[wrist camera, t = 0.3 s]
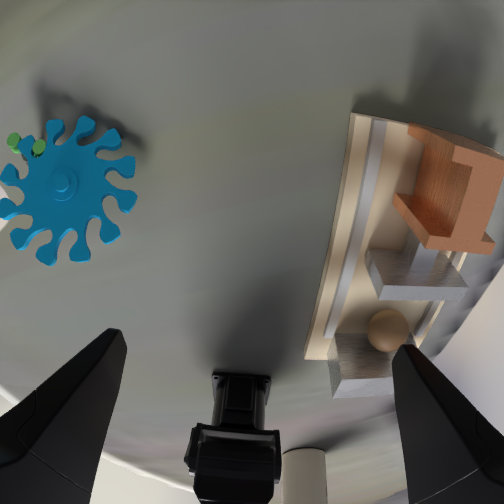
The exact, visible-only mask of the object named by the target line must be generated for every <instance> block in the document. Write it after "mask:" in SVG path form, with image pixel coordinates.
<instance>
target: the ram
mask: <svg viewBox="0 0 504 504" xmlns="http://www.w3.org/2000/svg"><path fill="white" fill-rule="evenodd" d="M407 134H408V135H410V136H412V137H414V138H415V139H417V140H419V141H420V142H422V143H424V144H425V146H424V150H423V155H422V160H421V164H420V169H419V173H418V177H417V181H416V185H415V189H414V193H413V195H407V194H401V193H395V194H394V198H393V202H392V204H393V205H394V207H395V208H396V209H397V211H398V212H399V213H400V215H401V216H402V217H403V219H404V220H405V221H406V223H407V224H408V225H409V227H410V230H409V234H408V237H407V240H406V243H405V246H404V249H403V251H392V250H379V249H368V250H367V254H366V257H365V261H364V264H365V267H366V269H367V271H368V274H369V277H370V279H371V282H372V284H373V287H374V289H375V292H376V295H377V297H378V300H411V301H459V300H462V299H463V297H464V295H465V293H466V291H467V290H468V288H469V287H468V286H467V284H466V283H465V281H464V280H463V278H462V277H461V275H460V274H459V272H458V271H457V270H456V268H455V267H454V265H453V264H452V262H451V261H450V260H449V258H448V257H447V255H442V254H438V252H439V250H445V251H456V252H467V253H477V254H488V255H491V253H492V251H493V249H494V247H495V244H496V243H495V242H494V241H493V240H492V239H491V238H490V237H489V236H488V234H487V233H486V232H485V229H486V227H487V224H488V221H489V219H490V216H491V213H492V210H493V207H494V204H495V201H496V198H497V195H498V192H499V189H500V185H501V182H502V179H503V176H504V157H503V156H502V155H500V154H498V153H496V152H495V151H493V150H491V149H489V148H487V147H485V146H484V145H482V144H480V143H478V142H476V141H474V140H472V139H469V138H466V137H463V136H460V135H457V134H453V133H450V132H447V131H443V130H440V129H436V128H432V127H429V126H425V125H421V124H417V123H413V122H409V127H408V133H407Z"/></svg>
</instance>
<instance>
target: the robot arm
mask: <svg viewBox="0 0 504 504" xmlns="http://www.w3.org/2000/svg"><path fill="white" fill-rule="evenodd" d="M126 354H127V345H126V342H125V340H124V337H123V334H122V332H121V330H119V329H114V328H108V329H107V330H105V331H104V332H103V333H102V334H100V335H99V336H98V337H97V338H96V339H94V340H93V341H92V342H91V343H90V344H88V345H87V346H86V347H85V348H84V349H82V350H81V351H80V352H79V353H78V354H76V355H75V356H74V357H73V358H72V359H70V360H69V361H68V362H67V363H66V364H64V365H63V366H62V367H61V368H60V369H59V370H57V371H56V372H55V373H54V374H53V375H51V376H50V377H49V378H48V379H47V380H46V381H44V382H43V383H42V384H41V385H40V386H39V387H37V388H36V390H34V391H33V392H32V393H30V394H29V395H28V396H27V397H26V398H25V399H23V400H22V401H21V402H20V403H18V404H17V405H16V406H15V407H13V408H12V409H11V410H9V411H8V412H6V413H5V414H4V415H2V416H1V417H0V504H89V502H90V498H91V493H92V488H93V484H94V480H95V475H96V472H97V467H98V463H99V460H100V456H101V452H102V448H103V444H104V441H105V437H106V434H107V430H108V426H109V423H110V420H111V416H112V413H113V409H114V406H115V403H116V400H117V396H118V393H119V388H120V384H121V378H122V373H123V368H124V364H125V359H126ZM392 375H393V385H394V397H395V406H396V412H397V418H398V424H399V429H400V435H401V442H402V448H403V455H404V463H405V471H406V479H407V488H408V499H409V504H504V436H503V435H502V434H501V433H500V432H499V431H498V430H496V429H495V428H494V427H493V426H492V425H491V424H490V423H489V422H488V421H487V419H486V418H485V417H484V416H483V415H482V414H481V413H480V412H479V411H477V409H476V408H475V407H474V406H473V405H472V404H471V403H470V402H469V400H468V399H467V398H466V397H465V396H464V395H463V394H462V393H461V392H460V391H459V390H458V389H457V388H456V387H455V386H454V385H453V384H452V383H451V382H450V381H449V380H448V379H447V378H446V377H445V376H444V374H443V373H442V372H441V371H439V369H438V368H437V367H436V366H434V364H433V363H432V362H431V361H430V360H429V359H428V358H427V357H426V356H425V355H424V354H423V353H422V352H421V351H420V350H419V349H418V348H417V347H416V346H415V345H413V344H401V345H400V346H399V348H398V350H397V352H396V354H395V356H394V358H393V360H392ZM270 384H271V378H270V377H268V376H252V375H238V374H225V373H213V374H212V386H213V396H214V401H215V402H214V409H213V417H212V424H211V425H206V424H202V423H197V426H196V427H195V428H192V431H191V437H190V441H189V445H188V448H187V451H186V454H185V457H184V462H185V463H186V465H187V466H188V470H189V476H191V477H194V486H193V489H194V492H195V494H196V495H197V498H198V500H199V501H200V503H201V504H268V503H269V501H270V500H271V499H272V497H273V494H274V484H278V483H279V481H280V476H281V467H282V458H281V445H280V433H279V430H264V420H265V405H267V400H268V395H269V389H270Z"/></svg>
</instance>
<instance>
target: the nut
mask: <svg viewBox="0 0 504 504" xmlns="http://www.w3.org/2000/svg"><path fill="white" fill-rule="evenodd" d="M408 334H409V325H408V322H407V319H406V318H405V316H404V315H403V314H402V313H400V312H399V311H397V310H394V309H385V310H382V311H380V312H378V313H376V314H375V315H374V316H373V317H372V319H371V320H370V322H369V325H368V329H367V335H368V339H369V341H370V343H371V344H372V346H373V347H375V348H376V349H377V350H379V351H382V352H391V351H395V350H397V349H398V348H399V346H400V345H401V344H404V343H405V341H406V339H407V337H408Z"/></svg>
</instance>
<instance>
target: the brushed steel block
mask: <svg viewBox="0 0 504 504" xmlns="http://www.w3.org/2000/svg"><path fill="white" fill-rule="evenodd" d="M404 344H413V345H415V346H416V347H417V345H416V342H415V340H414V337H413V335H412V332H409V334H408V337H407V339H406V341H405V343H404ZM397 350H398V349H397ZM397 350H395V351H391V352H382V351H379V350H377V349H376V348H375V347H373V346H372V344H371V343H370V341H369V339H368V335H367V333H334V336H333V338H332V340H331V343H330V346H329V348H328V351H327V360H328V367H329V374H330V382H331V389H332V397H333V398H349V397H366V396H380V395H391V394H394V385H393V375H392V360H393V358H394V356H395V354H396V352H397Z"/></svg>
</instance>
